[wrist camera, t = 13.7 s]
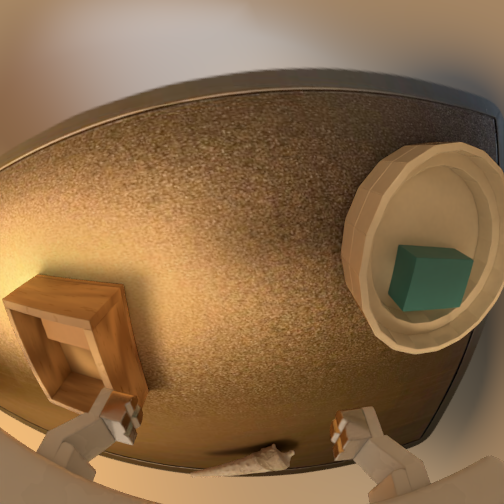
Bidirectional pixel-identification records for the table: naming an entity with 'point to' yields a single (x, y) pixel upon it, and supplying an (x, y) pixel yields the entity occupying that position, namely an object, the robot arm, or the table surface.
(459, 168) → the bowl
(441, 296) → the teal rectangular block
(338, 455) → the robot arm
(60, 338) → the tan rectangular block
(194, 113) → the table surface
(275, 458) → the seashell
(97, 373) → the holder
